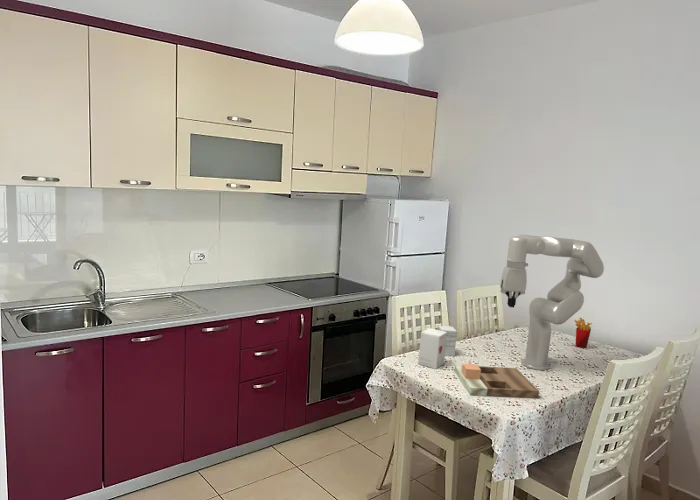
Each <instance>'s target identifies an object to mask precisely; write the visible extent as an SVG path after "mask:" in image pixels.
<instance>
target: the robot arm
mask: <svg viewBox="0 0 700 500" xmlns="http://www.w3.org/2000/svg"><path fill="white" fill-rule="evenodd" d="M527 254H529V255H544V256H549V257H559V258H561V257H562V258H569V259H568V260H567V262H566V271H565V276H564V278H562V280H561V281H560V282H558V283H557V284H556V285H554V286H553V287H552V288H551V289H550V290H549V291H548V292H547V294H546V298H544V297H536V298H533V299H531V301H530V303H529V306H528V309H529V310H528V311H529V326H528V332H527V333H528V335H527V342H526V350H525V357H524V358H523V359H521V361H520V363H521V364H522V365H523V366H524V367H526V368H529V369H533V370H538V371H547V370H550V369H551V364H559V363H558V362H559V360H558V358H553V357H549V350H550V342H551V335H552V325H551V324H553V325H562V324H565V323H566V322H567V321H568V320H570V318H571V317H573V316H575V314H576V313H577V312H579V311H580V310H581V309H582V307H583V305H584V303H585V297H584V294H583V293H582V291H580V290H581V289H582V282H581V276H583V277H587V278H592V279H597V278H600V277H601V276H603V274H604V270H605V267H604V263H603V260H602V258H601V257H600V255H599V253H598V251H597V250H596V248H595V247H594V245H593V244H592V243H591V242H589V241H586V240H579V239H572V238H565V237H564V238H563V237H556V236H555V237H553V236H552V237H551V236H538V235H531V234H529V235H528V234H518V235H516V236H515V235H514V236H511V237H509V242H508V249H507V260H506V266H505V267H504V268H503V270H502V274H501V278H500V283H499V284H500V285H499V287H500V291H499V292H500V293H501V294H504V295H506V296H507V302H506V303H507V306H508V307H509V308H515V306H516V301H517V299H518V297H519V296H521V295H525V294H526V290H527V269H526V267H528V266H529V263H527V260H526V259H527Z"/></svg>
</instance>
